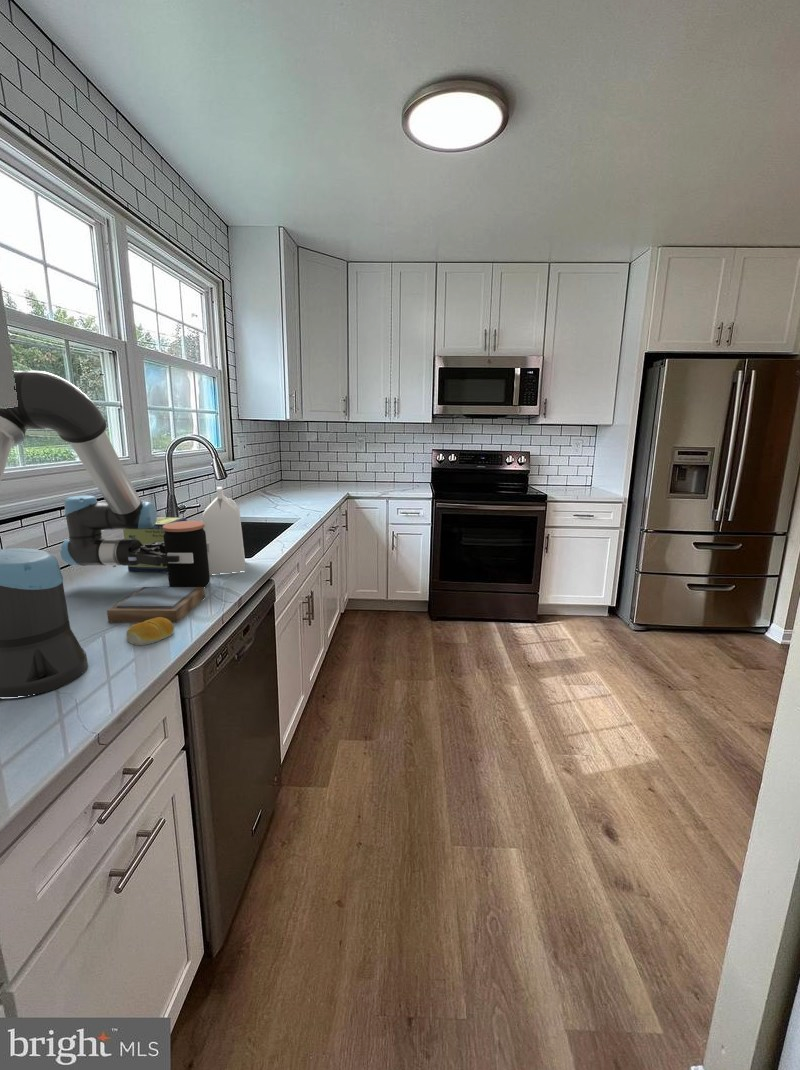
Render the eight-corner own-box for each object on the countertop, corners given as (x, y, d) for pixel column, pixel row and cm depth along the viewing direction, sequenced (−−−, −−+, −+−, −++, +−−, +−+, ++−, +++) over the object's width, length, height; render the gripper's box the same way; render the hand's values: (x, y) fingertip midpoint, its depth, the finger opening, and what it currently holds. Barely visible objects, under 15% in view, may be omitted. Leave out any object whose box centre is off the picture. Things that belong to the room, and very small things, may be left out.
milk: (208, 565, 153) (200, 486, 147) (245, 562, 156) (239, 484, 150) (205, 575, 142) (197, 491, 136) (245, 572, 145) (238, 489, 139)
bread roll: (182, 632, 103) (180, 616, 103) (144, 649, 96) (141, 631, 95) (157, 625, 107) (155, 609, 106) (119, 640, 99) (117, 623, 99)
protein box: (175, 572, 145) (169, 523, 141) (127, 571, 146) (120, 523, 142) (192, 563, 155) (187, 517, 151) (147, 562, 156) (141, 516, 153)
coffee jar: (217, 580, 137) (211, 521, 133) (198, 593, 127) (191, 529, 123) (182, 579, 138) (176, 520, 134) (161, 592, 128) (153, 528, 124)
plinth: (177, 622, 108) (175, 608, 107) (108, 622, 108) (106, 608, 107) (205, 597, 124) (204, 585, 123) (145, 597, 124) (143, 585, 123)
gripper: (146, 554, 142) (218, 554, 142) (98, 578, 120) (184, 578, 120) (143, 530, 141) (216, 530, 141) (94, 549, 118) (180, 550, 118)
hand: (201, 552), depth 130 cm, fingers closed on coffee jar, 11 cm apart
